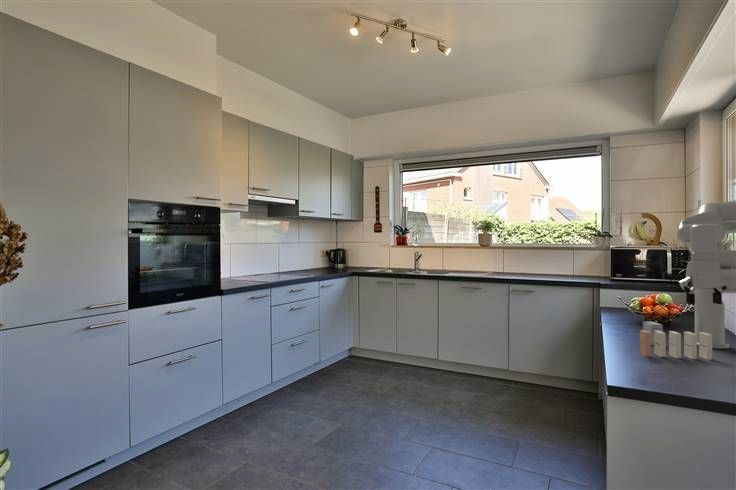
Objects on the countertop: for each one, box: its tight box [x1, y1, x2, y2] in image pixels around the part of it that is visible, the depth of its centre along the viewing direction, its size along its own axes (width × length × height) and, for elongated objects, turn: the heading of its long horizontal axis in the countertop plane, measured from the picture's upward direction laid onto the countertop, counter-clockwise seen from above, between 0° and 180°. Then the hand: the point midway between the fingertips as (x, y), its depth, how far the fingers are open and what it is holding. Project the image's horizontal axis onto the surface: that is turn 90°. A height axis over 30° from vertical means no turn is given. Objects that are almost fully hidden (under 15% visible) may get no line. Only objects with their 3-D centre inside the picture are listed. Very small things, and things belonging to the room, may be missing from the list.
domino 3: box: [668, 330, 682, 359], centre depth 152 cm, size 2×5×9 cm, turn 168°
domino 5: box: [698, 332, 713, 361], centre depth 150 cm, size 2×5×9 cm, turn 168°
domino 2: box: [653, 331, 667, 358], centre depth 153 cm, size 2×5×9 cm, turn 169°
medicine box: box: [642, 321, 664, 346], centre depth 173 cm, size 8×4×9 cm, turn 168°
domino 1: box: [639, 329, 652, 358], centre depth 154 cm, size 2×5×9 cm, turn 169°
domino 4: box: [683, 331, 698, 360], centre depth 151 cm, size 2×5×9 cm, turn 169°
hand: (703, 303), depth 151 cm, fingers open, 9 cm apart
